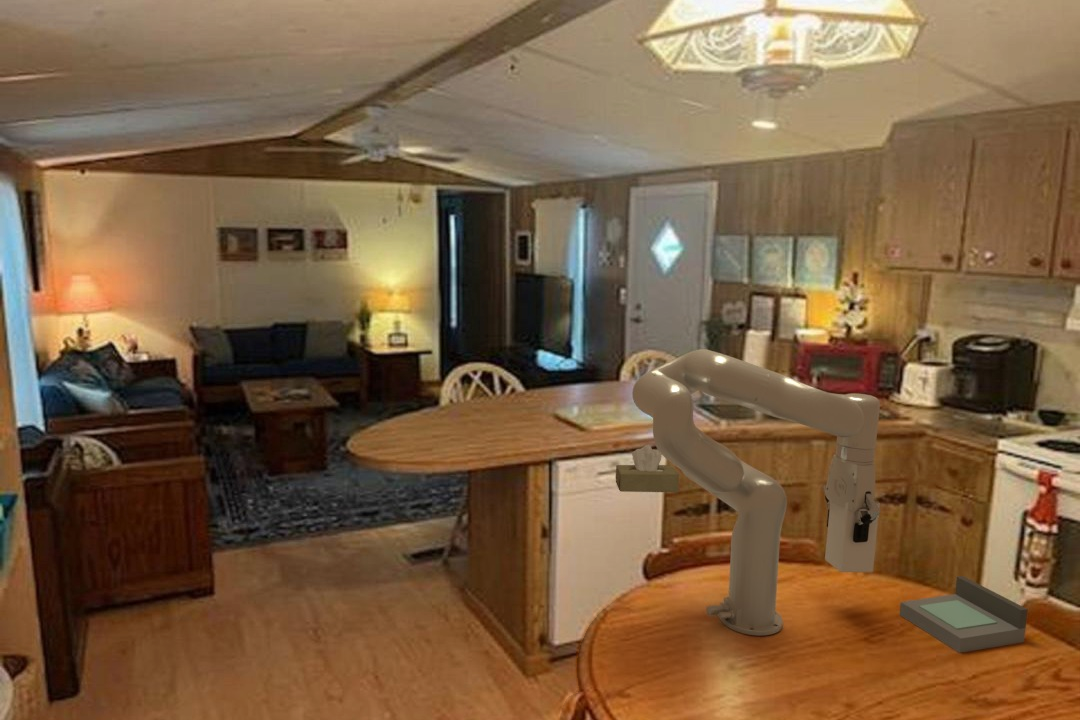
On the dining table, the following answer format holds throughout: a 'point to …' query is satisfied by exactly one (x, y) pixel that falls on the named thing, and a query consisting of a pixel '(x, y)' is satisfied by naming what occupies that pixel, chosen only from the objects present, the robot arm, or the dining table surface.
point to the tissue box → (647, 473)
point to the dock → (968, 617)
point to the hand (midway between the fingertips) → (846, 533)
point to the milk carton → (849, 541)
